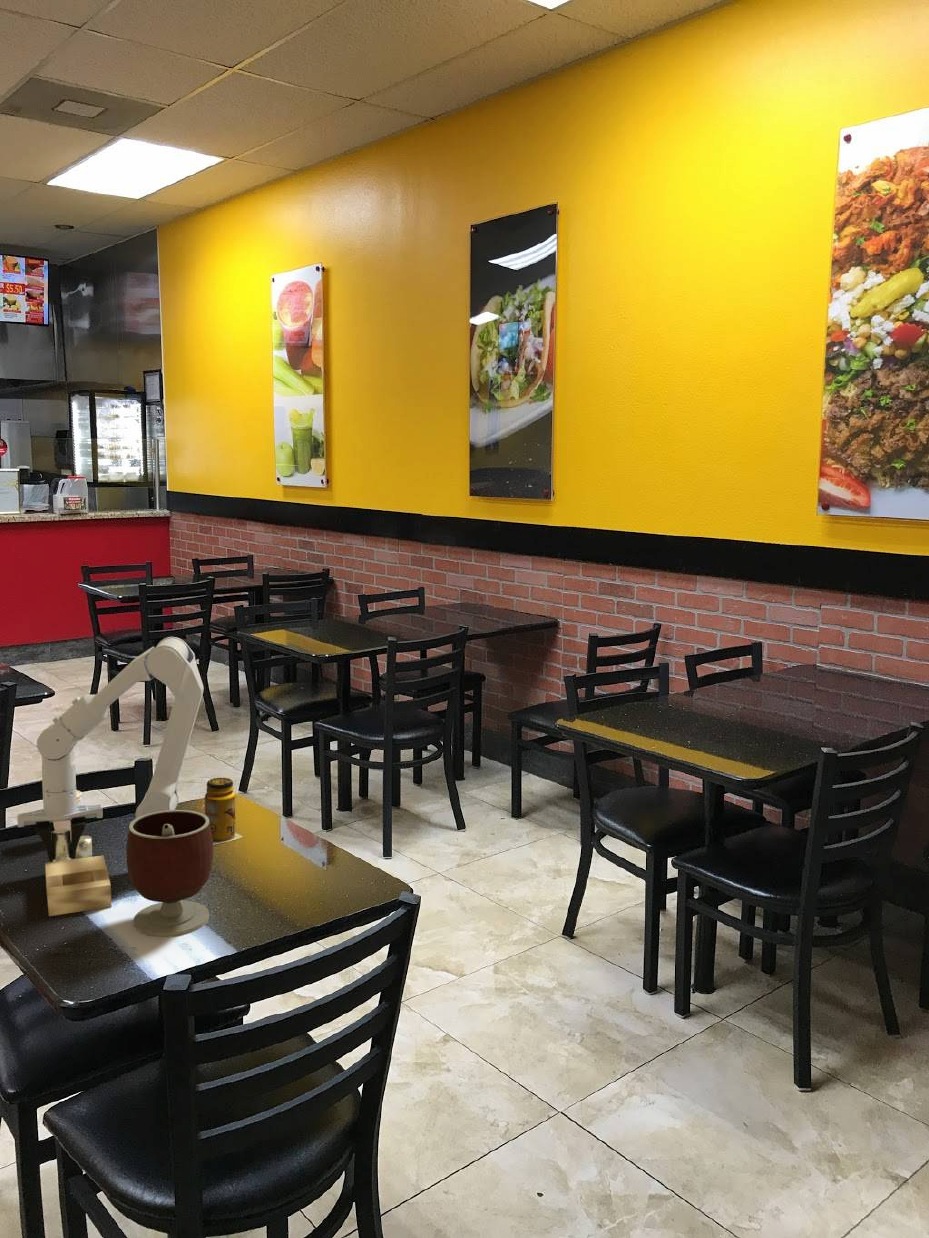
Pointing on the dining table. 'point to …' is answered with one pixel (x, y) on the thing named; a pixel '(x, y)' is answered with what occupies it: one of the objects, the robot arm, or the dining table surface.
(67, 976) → the dining table surface
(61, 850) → the tall pin
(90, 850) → the short pin
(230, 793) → the condiment
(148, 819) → the mate gourd
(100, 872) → the pin block
